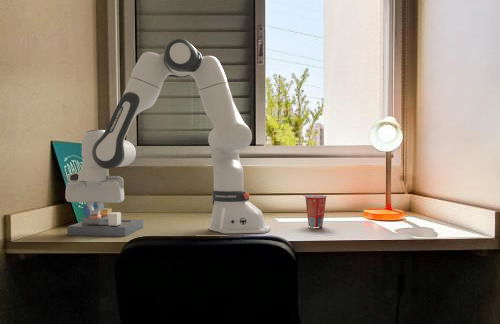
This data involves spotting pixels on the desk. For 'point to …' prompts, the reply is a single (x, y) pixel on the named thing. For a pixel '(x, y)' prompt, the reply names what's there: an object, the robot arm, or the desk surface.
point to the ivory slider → (114, 218)
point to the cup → (315, 209)
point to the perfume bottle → (87, 211)
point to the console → (104, 227)
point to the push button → (94, 216)
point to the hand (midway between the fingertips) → (95, 215)
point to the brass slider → (105, 211)
